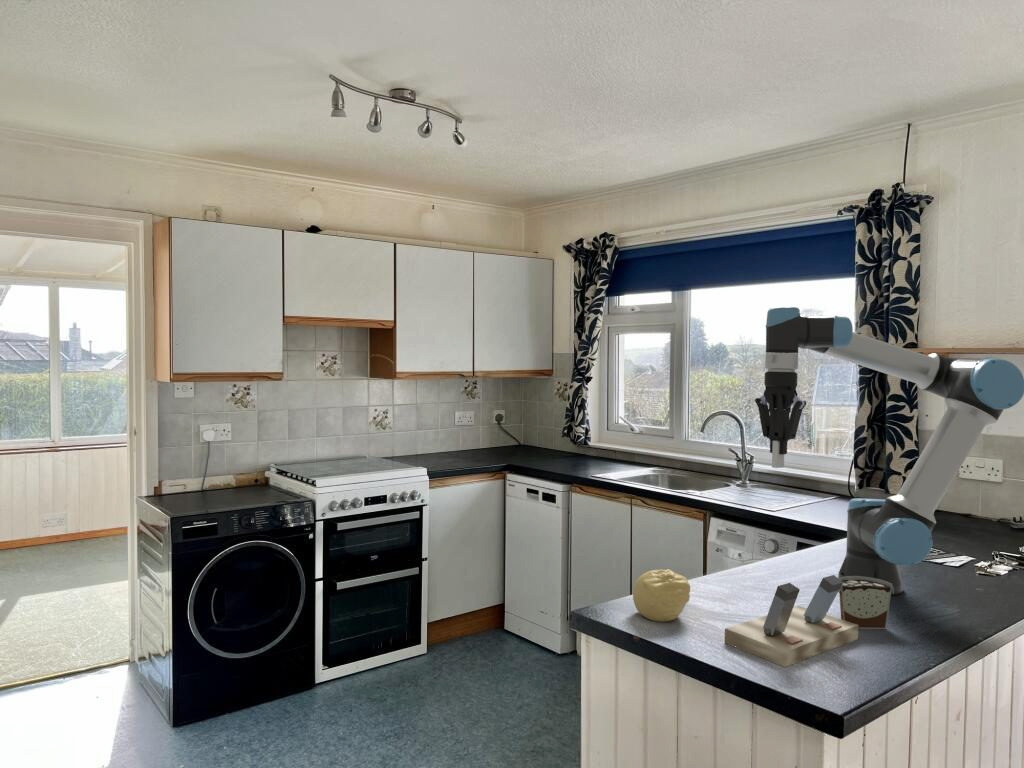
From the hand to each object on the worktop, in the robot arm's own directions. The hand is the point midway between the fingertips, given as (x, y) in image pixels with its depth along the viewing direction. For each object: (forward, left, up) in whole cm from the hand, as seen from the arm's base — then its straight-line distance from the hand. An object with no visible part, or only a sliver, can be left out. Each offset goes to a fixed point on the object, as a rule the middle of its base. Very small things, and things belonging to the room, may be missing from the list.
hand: (777, 467), depth 179 cm
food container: (-1, +21, -33) cm, 39 cm away
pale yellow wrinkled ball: (+34, -6, -33) cm, 47 cm away
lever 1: (+28, +19, -29) cm, 45 cm away
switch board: (+21, +19, -32) cm, 43 cm away
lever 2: (+14, +19, -29) cm, 38 cm away
